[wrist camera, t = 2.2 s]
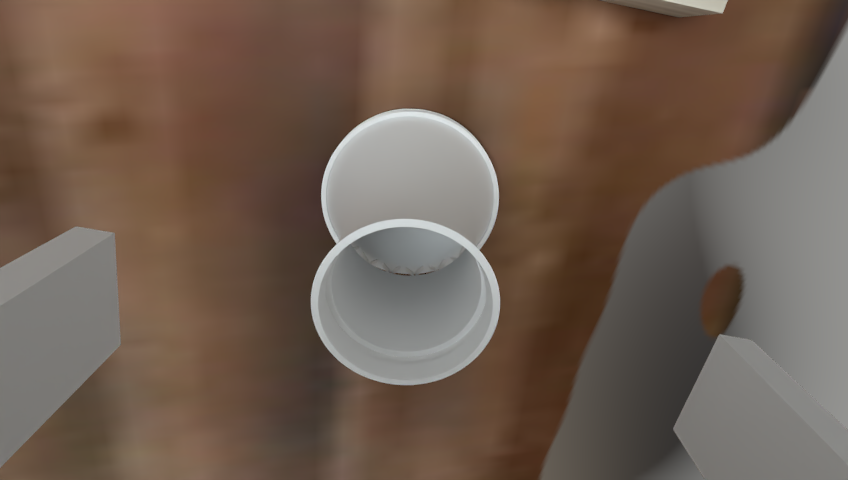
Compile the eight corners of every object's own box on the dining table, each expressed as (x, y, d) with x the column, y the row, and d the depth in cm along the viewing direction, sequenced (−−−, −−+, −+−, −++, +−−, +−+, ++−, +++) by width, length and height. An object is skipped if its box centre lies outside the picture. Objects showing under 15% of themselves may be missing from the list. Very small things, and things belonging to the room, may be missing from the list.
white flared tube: (412, 68, 20) (408, 92, 11) (530, 197, 22) (611, 311, 13) (290, 193, 22) (195, 305, 13) (409, 301, 24) (403, 466, 15)
